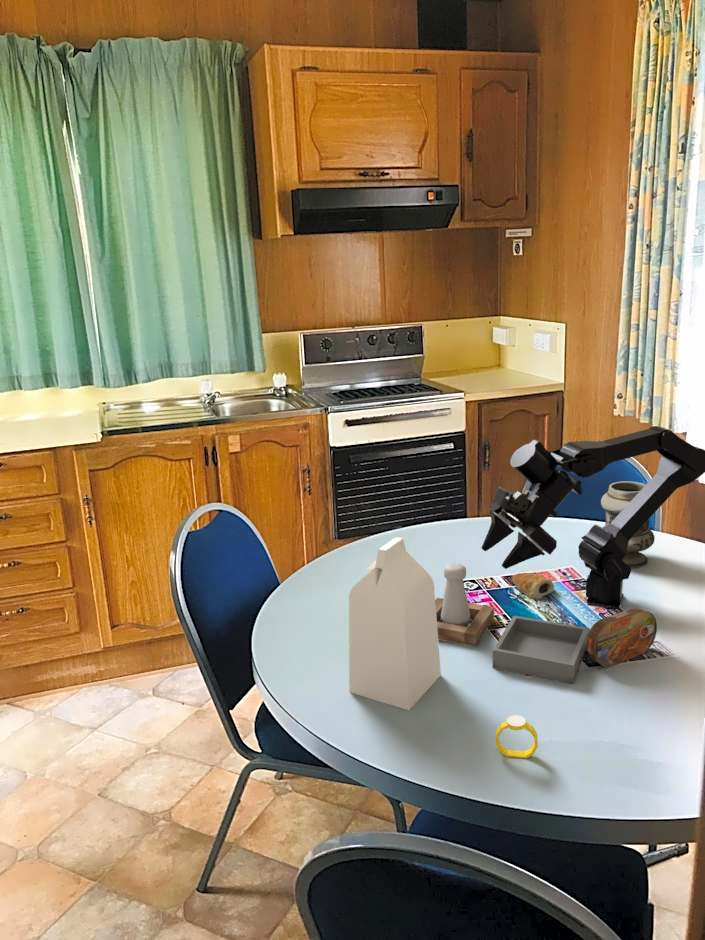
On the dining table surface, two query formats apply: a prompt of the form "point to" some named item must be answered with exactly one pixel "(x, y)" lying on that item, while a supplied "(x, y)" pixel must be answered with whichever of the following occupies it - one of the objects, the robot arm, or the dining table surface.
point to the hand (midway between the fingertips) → (493, 558)
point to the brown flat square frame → (462, 634)
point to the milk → (393, 630)
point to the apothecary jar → (614, 504)
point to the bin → (541, 649)
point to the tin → (621, 636)
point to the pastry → (533, 584)
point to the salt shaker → (455, 596)
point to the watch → (516, 724)
